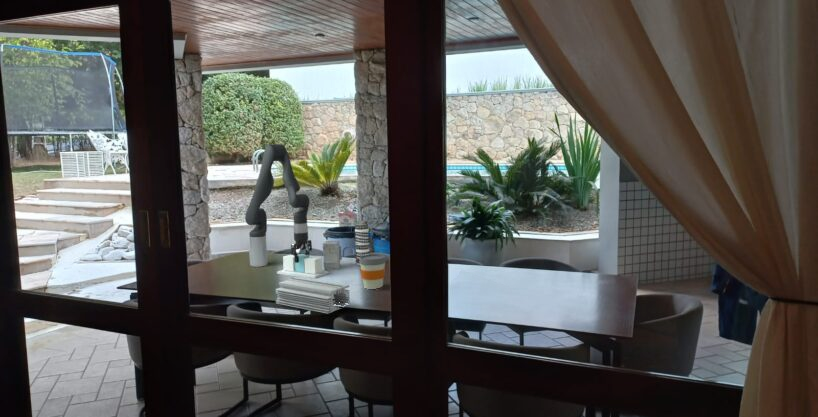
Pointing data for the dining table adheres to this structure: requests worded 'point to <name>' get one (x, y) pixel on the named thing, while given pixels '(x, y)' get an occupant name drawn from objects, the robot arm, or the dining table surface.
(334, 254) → the circuit breaker
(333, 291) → the aluminum extrusion profile
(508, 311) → the dining table surface
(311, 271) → the rail panel
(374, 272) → the reusable coffee cup
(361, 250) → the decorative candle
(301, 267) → the block
